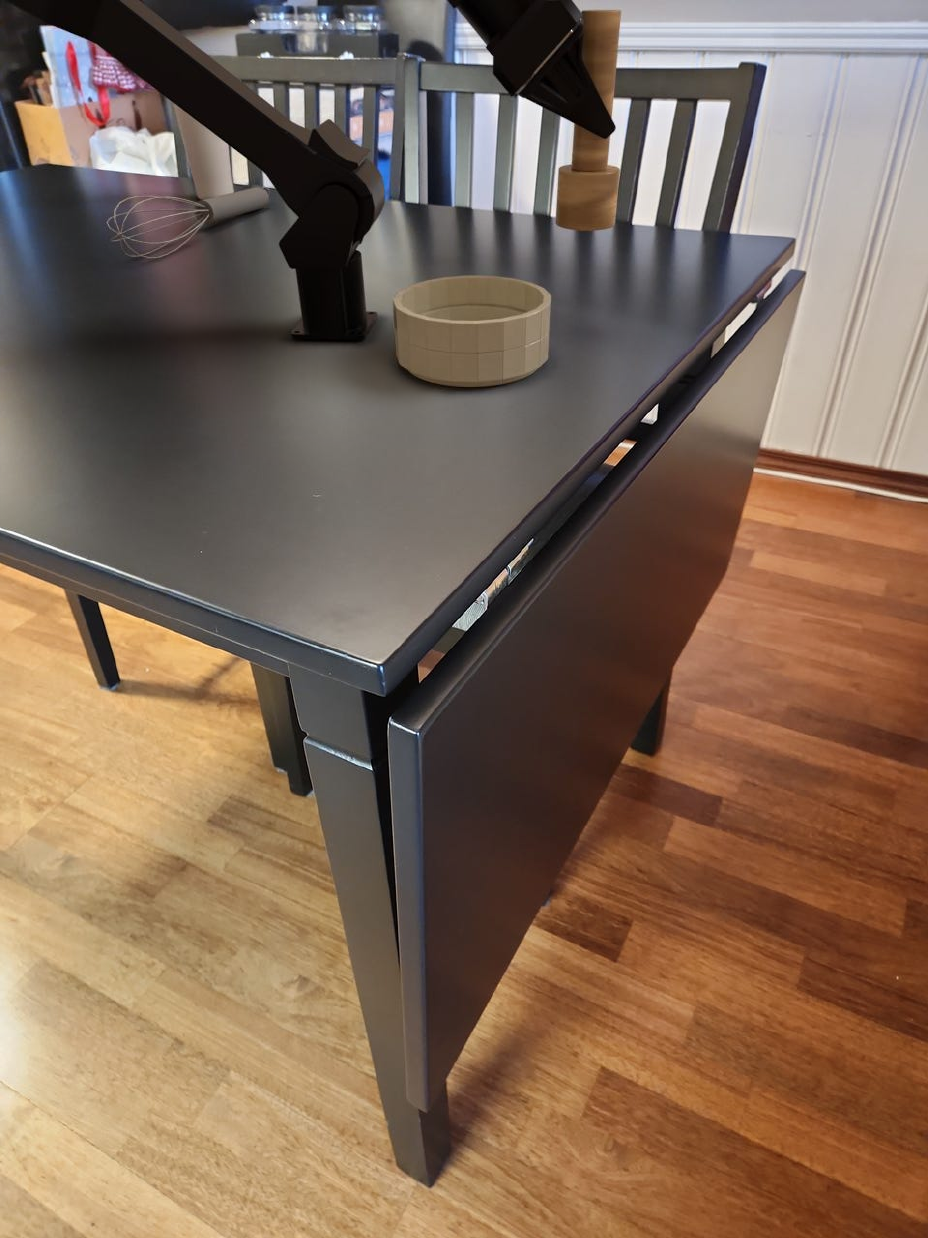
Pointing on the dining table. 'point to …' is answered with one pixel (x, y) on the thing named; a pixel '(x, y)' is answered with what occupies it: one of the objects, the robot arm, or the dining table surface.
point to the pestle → (592, 137)
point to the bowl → (472, 330)
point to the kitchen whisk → (202, 212)
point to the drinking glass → (205, 157)
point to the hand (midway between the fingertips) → (609, 130)
